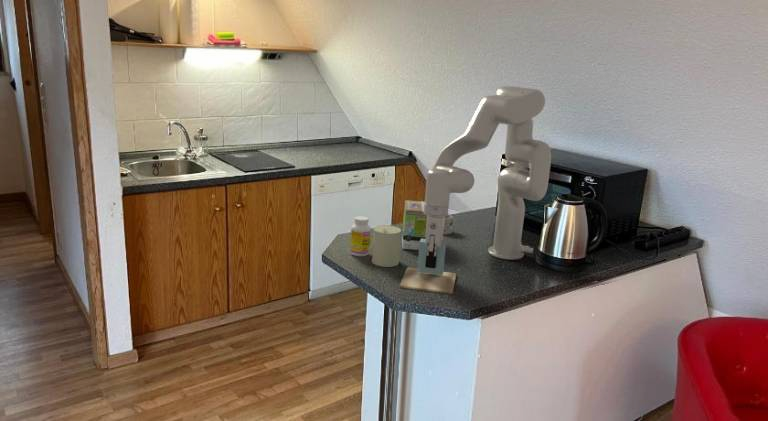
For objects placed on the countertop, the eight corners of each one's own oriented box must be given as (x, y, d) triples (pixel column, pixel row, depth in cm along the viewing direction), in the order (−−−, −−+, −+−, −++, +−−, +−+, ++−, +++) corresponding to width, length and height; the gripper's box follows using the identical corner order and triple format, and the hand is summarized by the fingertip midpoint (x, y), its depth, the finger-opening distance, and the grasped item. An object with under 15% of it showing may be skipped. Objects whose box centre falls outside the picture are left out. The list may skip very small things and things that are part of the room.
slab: (443, 271, 191) (446, 241, 188) (442, 275, 187) (445, 244, 184) (418, 267, 192) (421, 238, 189) (417, 271, 188) (419, 241, 186)
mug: (453, 234, 235) (455, 218, 233) (437, 234, 233) (438, 218, 231) (445, 227, 244) (447, 211, 242) (430, 227, 243) (431, 211, 241)
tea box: (429, 251, 214) (433, 211, 210) (401, 249, 214) (404, 209, 210) (427, 238, 228) (430, 200, 224) (401, 236, 228) (404, 199, 224)
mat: (456, 275, 192) (456, 273, 192) (452, 294, 177) (452, 292, 177) (407, 269, 195) (407, 267, 195) (399, 287, 180) (399, 285, 180)
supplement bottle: (362, 258, 202) (364, 222, 199) (346, 253, 205) (347, 218, 202) (372, 253, 208) (375, 218, 204) (357, 249, 211) (359, 214, 207)
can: (367, 263, 197) (369, 229, 194) (377, 255, 206) (379, 222, 203) (393, 268, 194) (396, 233, 191) (402, 260, 203) (405, 226, 200)
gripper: (446, 217, 176) (440, 276, 180) (450, 204, 191) (445, 258, 196) (420, 215, 177) (415, 272, 182) (427, 201, 193) (422, 255, 197)
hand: (431, 264), depth 189 cm, fingers closed on slab, 3 cm apart
